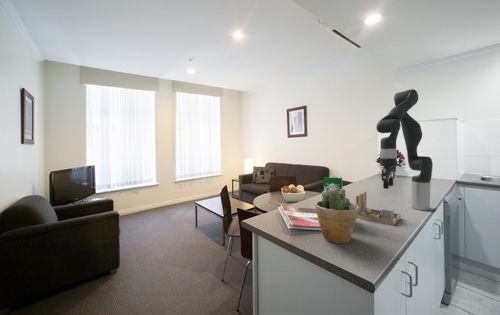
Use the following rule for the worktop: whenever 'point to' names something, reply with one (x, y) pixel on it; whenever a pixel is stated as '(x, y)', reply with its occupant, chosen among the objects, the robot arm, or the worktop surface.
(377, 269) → the worktop surface
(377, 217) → the divided box
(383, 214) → the gray rectangular block
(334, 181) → the milk carton
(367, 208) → the pebble
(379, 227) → the worktop surface
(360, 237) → the worktop surface
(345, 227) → the potted plant
